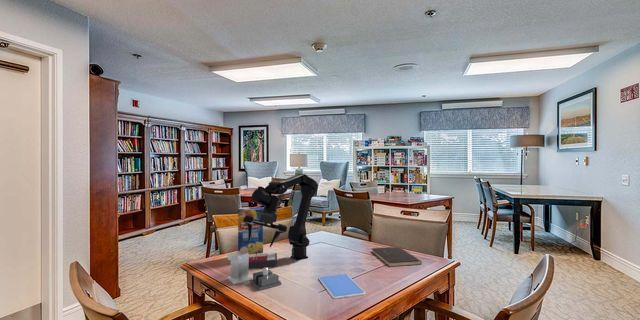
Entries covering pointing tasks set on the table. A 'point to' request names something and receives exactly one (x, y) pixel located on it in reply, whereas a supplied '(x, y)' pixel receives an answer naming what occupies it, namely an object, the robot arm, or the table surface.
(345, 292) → the tablet computer
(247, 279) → the pad
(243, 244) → the blue food box
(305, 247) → the robot arm
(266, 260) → the calculator
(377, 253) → the hardcover book
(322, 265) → the table surface
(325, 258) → the table surface
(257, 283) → the vise
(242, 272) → the grey stepped block
